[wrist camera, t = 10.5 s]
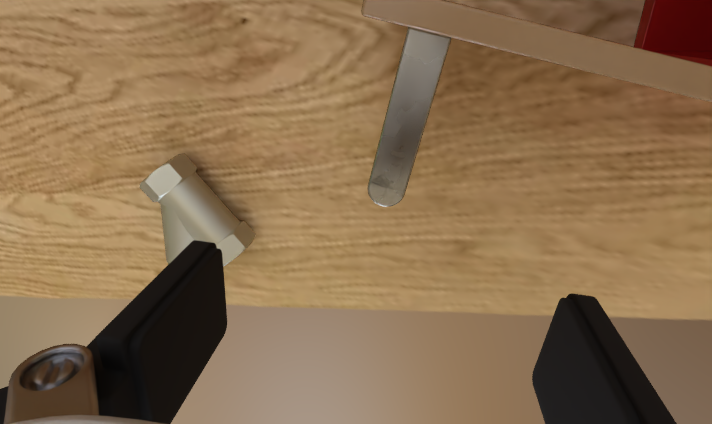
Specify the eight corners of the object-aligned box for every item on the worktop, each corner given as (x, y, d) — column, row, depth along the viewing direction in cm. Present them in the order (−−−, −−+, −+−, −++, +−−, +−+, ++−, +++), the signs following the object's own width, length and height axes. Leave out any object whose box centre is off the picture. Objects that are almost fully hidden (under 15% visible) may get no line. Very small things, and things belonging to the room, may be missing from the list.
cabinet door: (568, 168, 27) (737, 326, 13) (365, 117, 28) (318, 219, 13) (620, 60, 24) (911, 115, 10) (391, 3, 25) (367, -20, 10)
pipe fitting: (207, 264, 35) (261, 228, 32) (182, 293, 32) (240, 256, 29) (137, 192, 33) (190, 147, 30) (102, 214, 29) (158, 166, 27)
